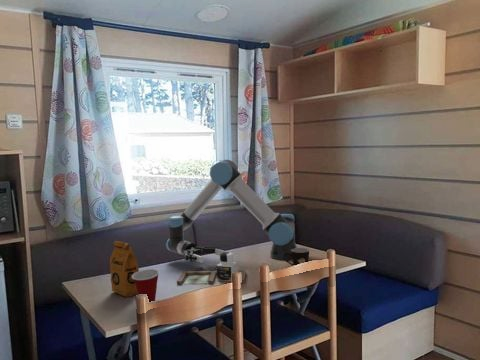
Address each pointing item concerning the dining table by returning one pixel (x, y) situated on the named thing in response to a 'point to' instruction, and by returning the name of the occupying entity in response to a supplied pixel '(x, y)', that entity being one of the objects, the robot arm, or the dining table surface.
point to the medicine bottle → (226, 267)
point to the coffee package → (123, 269)
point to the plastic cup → (146, 282)
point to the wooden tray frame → (201, 277)
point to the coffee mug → (298, 255)
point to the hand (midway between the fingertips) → (213, 256)
